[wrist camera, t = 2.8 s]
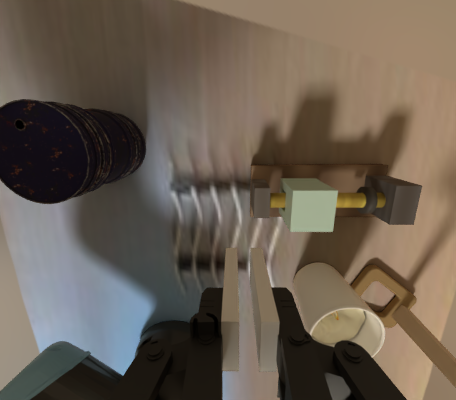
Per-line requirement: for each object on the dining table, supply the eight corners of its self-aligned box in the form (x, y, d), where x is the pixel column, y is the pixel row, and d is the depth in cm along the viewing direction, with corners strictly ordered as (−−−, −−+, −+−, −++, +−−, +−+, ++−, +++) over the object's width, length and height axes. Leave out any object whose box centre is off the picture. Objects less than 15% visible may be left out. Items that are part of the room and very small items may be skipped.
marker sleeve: (278, 211, 35) (290, 231, 28) (280, 178, 34) (293, 190, 27) (312, 211, 35) (332, 231, 28) (315, 178, 34) (337, 190, 27)
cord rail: (250, 213, 39) (254, 235, 31) (250, 164, 37) (255, 174, 29) (373, 213, 39) (411, 235, 30) (381, 164, 36) (424, 173, 28)
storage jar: (157, 164, 37) (109, 185, 23) (102, 186, 38) (24, 218, 24) (127, 100, 35) (52, 78, 20) (70, 126, 36) (-39, 122, 22)
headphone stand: (369, 261, 41) (513, 399, 20) (419, 288, 42) (607, 445, 21) (333, 306, 44) (427, 469, 22) (382, 329, 45) (515, 506, 24)
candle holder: (342, 253, 41) (385, 301, 29) (345, 301, 43) (386, 362, 32) (285, 262, 41) (305, 313, 30) (291, 309, 44) (312, 371, 32)
